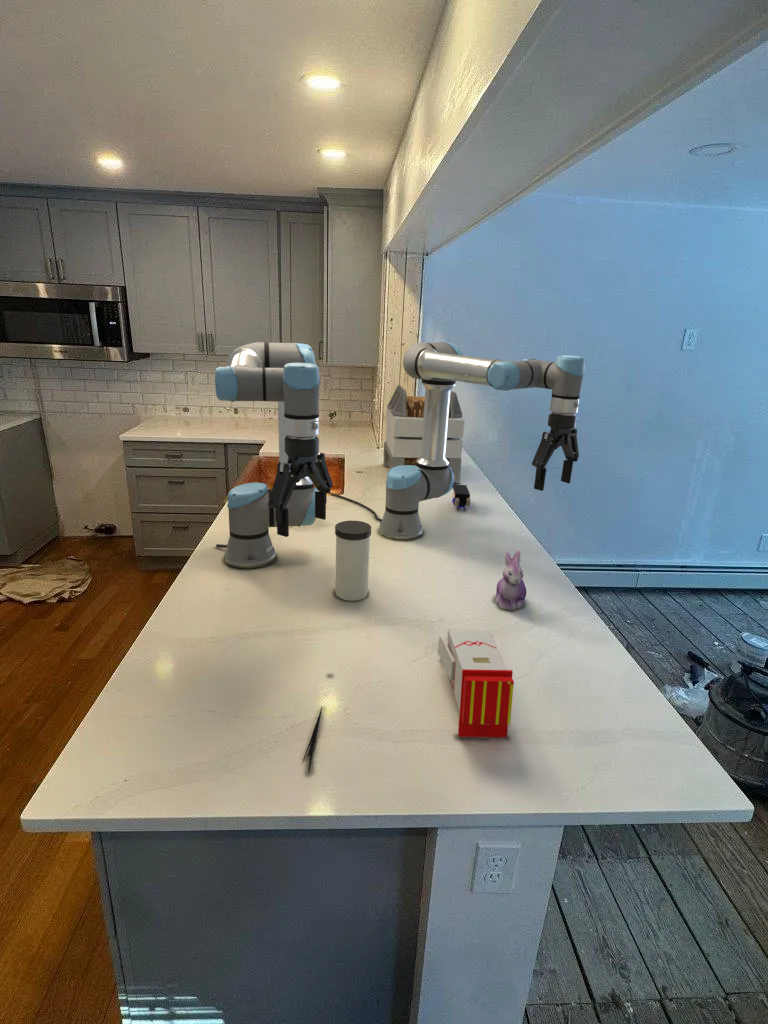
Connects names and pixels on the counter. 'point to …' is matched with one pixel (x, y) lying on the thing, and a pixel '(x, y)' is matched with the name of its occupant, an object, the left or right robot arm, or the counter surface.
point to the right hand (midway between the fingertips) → (552, 485)
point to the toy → (478, 682)
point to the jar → (352, 568)
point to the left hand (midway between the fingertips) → (302, 526)
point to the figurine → (511, 584)
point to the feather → (313, 740)
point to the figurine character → (461, 496)
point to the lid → (353, 530)
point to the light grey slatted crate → (419, 431)
